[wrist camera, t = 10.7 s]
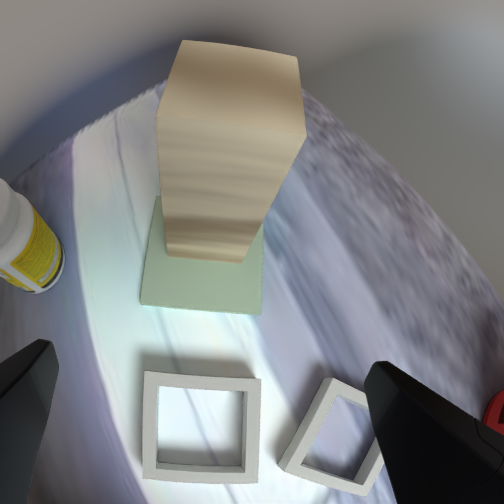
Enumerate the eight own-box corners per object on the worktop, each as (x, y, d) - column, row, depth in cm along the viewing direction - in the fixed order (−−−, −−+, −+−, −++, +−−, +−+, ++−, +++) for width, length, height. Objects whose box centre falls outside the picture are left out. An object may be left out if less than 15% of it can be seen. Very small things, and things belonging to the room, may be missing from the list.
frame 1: (252, 476, 17) (257, 483, 16) (145, 471, 16) (142, 478, 15) (256, 378, 20) (261, 378, 18) (147, 370, 19) (144, 370, 17)
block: (241, 263, 22) (306, 136, 10) (167, 256, 21) (155, 116, 9) (243, 200, 24) (296, 57, 12) (177, 193, 23) (182, 40, 11)
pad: (260, 315, 21) (261, 314, 21) (140, 304, 20) (140, 303, 20) (262, 209, 24) (263, 207, 24) (157, 198, 23) (156, 195, 23)
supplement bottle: (62, 225, 21) (18, 158, 13) (71, 284, 19) (18, 235, 12) (10, 243, 19) (-46, 187, 12) (16, 302, 18) (-51, 263, 10)
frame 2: (355, 491, 18) (365, 496, 16) (277, 465, 18) (283, 471, 16) (395, 411, 20) (406, 412, 19) (324, 377, 21) (333, 377, 19)
